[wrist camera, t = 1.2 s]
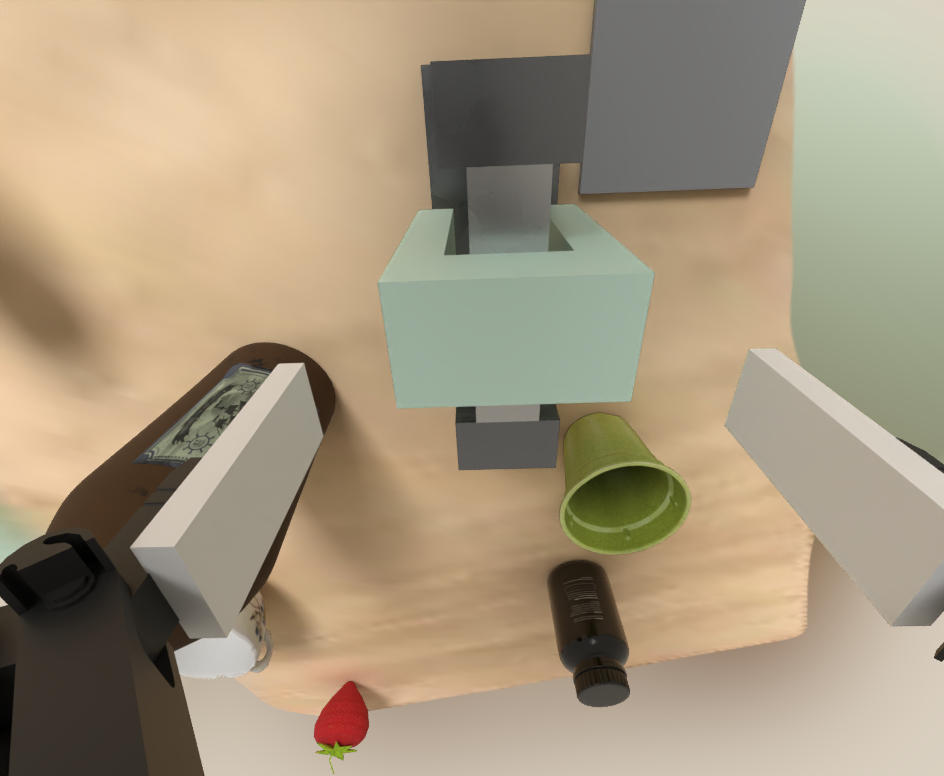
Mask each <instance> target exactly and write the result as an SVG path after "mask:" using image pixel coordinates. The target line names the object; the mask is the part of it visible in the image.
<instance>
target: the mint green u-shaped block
mask: <svg viewBox="0 0 944 776" xmlns="http://www.w3.org/2000/svg"><path fill="white" fill-rule="evenodd" d="M654 275H655V272H654V271H652V270H651V269H650V268H649V267H648V266H647V265H645V264H644V263H643V262H642V261H641V260H640V259H638V258H637V257H636V256H635V255H634V254H633V253H631V252H630V251H629V250H628V249H627V248H626V247H625V246H623V245H622V244H621V243H620V242H619V241H618V240H616V239H615V238H614V237H613V236H612V235H611V234H609V233H608V232H607V231H606V230H605V229H604V228H602V227H601V226H600V225H599V224H598V223H597V222H595V221H594V220H593V219H592V218H591V217H590V216H589V215H587V214H586V213H585V212H584V211H583V210H582V209H580V208H579V207H578V206H577V205H576V204H560V205H551V209H550V227H549V246H548V252H524V253H497V254H469V255H456V246H455V228H454V210H453V209H430V210H419V211H418V212H417V214H416V216H415V218H414V220H413V221H412V223H411V225H410V227H409V228H408V230H407V232H406V234H405V235H404V237H403V239H402V241H401V242H400V244H399V246H398V248H397V249H396V251H395V253H394V255H393V256H392V258H391V260H390V262H389V264H388V265H387V267H386V269H385V271H384V272H383V274H382V276H381V278H380V279H379V281H378V288H379V294H380V301H381V307H382V314H383V320H384V327H385V333H386V340H387V346H388V353H389V359H390V366H391V372H392V379H393V385H394V392H395V398H396V405H397V408H430V407H464V406H497V405H531V404H565V403H599V402H631V399H632V393H633V388H634V383H635V377H636V372H637V366H638V361H639V356H640V350H641V345H642V340H643V334H644V329H645V323H646V318H647V313H648V307H649V302H650V296H651V291H652V286H653V280H654Z"/></svg>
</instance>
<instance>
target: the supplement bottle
mask: <svg viewBox="0 0 944 776" xmlns="http://www.w3.org/2000/svg"><path fill="white" fill-rule="evenodd" d="M547 585H548V592H549V599H550V605H551V611H552V617H553V623H554V629H555V635H556V640H557V646H558V652H559V657H560V660H561V662H562V664H563V665H564V666H565V667H566V669H568V670H569V671H570V672H572V673H573V680H574V684H575V688H576V693H577V698H578V699H579V701H580V702H581V703H583V704H584V705H587V706H592V707H608V706H613V705H616V704H618V703H621V702H623V701H624V700H626V699H627V698H628V697H629V695H630V689H629V685H628V681H627V674H626V671H625V669H624V667H623V666H624V665H625V663H626V661H627V659H628V656H629V647H628V643H627V639H626V636H625V633H624V629H623V626H622V623H621V619H620V616H619V613H618V609H617V606H616V603H615V599H614V596H613V593H612V589H611V586H610V583H609V580H608V576H607V574H606V572H605V571H604V569H603V568H602V567H600V566H599V565H597V564H595V563H593V562H589V561H571V562H567V563H564V564H562V565H560V566H558V567H557V568H555V569H554V570H553V571H552V572H551V574H550V575H549V578H548V582H547Z"/></svg>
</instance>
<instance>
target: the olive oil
mask: <svg viewBox="0 0 944 776" xmlns="http://www.w3.org/2000/svg"><path fill="white" fill-rule="evenodd" d="M284 363H304V365H305V369H306V372H307V376H308V380H309V384H310V387H311V391H312V395H313V399H314V403H315V406H316V410H317V414H318V418H319V421H320V425H321V429H322V433H323V436H324V434H325V432H326V429H327V427H328V424H329V422H330V420H331V417H332V414H333V411H334V407H335V394H334V390H333V387H332V384H331V382H330V380H329V378H328V376H327V375H326V373H325V372H324V371H323V369H322V368H321V367H320V366H319V365H318V364H317V363H316V362H315V361H313V360H312V359H311V358H310V357H308V356H307V355H305V354H303V353H302V352H300V351H298V350H296V349H294V348H291V347H288V346H285V345H281V344H276V343H254V344H249V345H246V346H243V347H241V348H239V349H237V350H236V351H234V352H233V353H231V354H230V355H229V356H228V357H227V358H225V359H224V360H223V361H222V362H221V363H220V364H219V365H218V366H217V367H215V368H214V369H213V370H212V371H211V372H210V373H209V374H208V375H207V376H206V377H204V378H203V379H202V380H201V381H200V382H199V383H198V384H197V385H195V386H194V387H193V388H192V389H191V390H190V391H189V392H187V393H186V394H185V395H184V396H183V397H181V398H180V399H179V400H178V401H177V402H176V403H174V404H173V405H172V406H171V407H170V408H169V409H167V410H166V411H165V412H164V413H163V414H162V415H160V416H159V417H158V418H157V419H156V420H154V421H153V422H152V423H151V424H150V425H149V426H147V427H146V428H145V429H144V430H143V431H141V432H140V433H139V434H138V435H137V436H135V437H134V438H133V439H132V440H131V441H129V442H128V443H127V444H126V445H125V446H123V447H122V448H121V449H120V450H119V451H117V452H116V453H115V454H114V455H113V456H111V457H110V458H109V459H108V460H107V461H105V462H104V463H103V464H102V465H101V466H99V467H98V468H97V469H96V470H95V471H93V472H92V473H91V474H90V475H89V476H87V477H86V478H85V479H84V480H83V481H82V482H81V483H80V484H79V485H78V486H77V487H76V488H75V489H74V490H73V491H72V492H71V493H70V494H69V495H68V497H67V498H66V499H65V500H64V502H63V503H62V505H61V506H60V508H59V510H58V511H57V513H56V515H55V516H54V518H53V520H52V522H51V524H50V526H49V528H48V530H47V532H46V534H48V533H51V532H54V531H58V530H61V529H66V528H75V527H80V528H83V529H87V530H90V532H91V533H92V535H93V536H94V537H95V539H96V540H97V542H98V543H99V544H100V546H101V547H102V549H104V548H105V547H106V546H107V545H108V544H109V542H110V541H111V540H112V539H113V538H114V537H115V536H116V534H117V533H118V532H119V531H120V530H121V529H122V527H123V526H124V525H125V524H126V523H127V522H128V521H129V519H130V518H131V517H132V516H133V515H134V514H135V512H136V511H137V510H138V509H139V508H140V507H143V506H144V502H145V501H146V500H147V499H148V498H149V496H150V495H151V494H152V493H153V492H156V488H157V487H158V486H159V485H160V484H161V483H162V481H163V480H164V479H165V478H166V477H167V476H168V474H169V473H170V472H171V471H173V470H174V469H176V468H177V467H179V466H180V465H181V464H183V463H184V462H186V461H187V460H188V459H190V458H191V457H204V455H205V454H206V453H207V452H208V450H209V449H210V448H211V447H212V445H213V444H214V443H215V442H216V440H217V439H218V438H219V437H220V436H221V434H222V433H223V432H224V431H225V429H226V428H227V427H228V426H229V424H230V423H231V422H232V421H233V419H234V418H235V417H236V416H237V415H238V413H239V412H240V411H241V410H242V408H243V407H244V406H245V405H246V403H247V402H248V401H249V400H250V398H251V397H252V396H253V395H254V393H255V392H256V391H257V390H258V389H259V387H260V386H261V385H262V384H263V382H264V381H265V380H266V379H267V377H268V376H269V375H270V374H271V372H272V371H273V370H274V369H275V368H276V366H277V365H278V364H284ZM320 444H321V443H320ZM319 446H320V445H319ZM318 448H319V447H318ZM317 451H318V449H317ZM317 451H316V453H317ZM316 453H315V455H314V457H313V460H312V462H311V464H310V466H309V468H308V470H307V472H306V474H305V476H304V478H303V480H302V483H301V485H300V487H299V489H298V491H297V493H296V495H295V497H294V499H293V501H292V503H291V506H290V508H289V510H288V512H287V514H286V516H285V518H284V520H283V522H282V524H281V526H280V529H279V531H278V533H277V535H276V537H275V539H274V541H273V543H272V545H271V547H270V549H269V552H268V554H267V556H266V558H265V560H264V562H263V564H262V566H261V568H260V570H259V572H258V575H257V577H256V579H255V581H254V583H253V585H252V587H251V589H250V591H249V593H248V595H247V598H246V600H245V602H244V604H243V606H242V608H241V610H240V612H241V611H242V610H243V609H244V608H245V607H246V606H247V605H248V604H249V603H250V601H251V600H252V599H253V598H254V597H255V595H256V594H257V593H258V592H259V590H260V589H261V588H262V586H263V585H264V583H265V582H266V580H267V579H268V577H269V575H270V573H271V571H272V569H273V567H274V564H275V562H276V559H277V557H278V554H279V551H280V549H281V546H282V543H283V540H284V538H285V535H286V532H287V530H288V527H289V524H290V522H291V519H292V516H293V513H294V511H295V508H296V505H297V503H298V500H299V498H300V495H301V492H302V490H303V487H304V484H305V482H306V479H307V477H308V474H309V471H310V469H311V466H312V464H313V461H314V458H315V456H316ZM240 612H239V613H240ZM200 639H202V638H195V639H190V638H189V637H188V635H187V634H186V632H185V631H184V629H183V628H182V626H181V624H180V623H179V622H178V624H177V626H176V627H175V629H174V631H173V632H172V634H171V636H170V638H169V639H168V642H169V643H170V645H171V646H172V648H173V649H174V651H176V650H178V649H181V648H183V647H185V646H187V645H189V644H191V643H193V642H195V641H198V640H200Z"/></svg>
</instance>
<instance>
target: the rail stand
mask: <svg viewBox="0 0 944 776" xmlns="http://www.w3.org/2000/svg"><path fill="white" fill-rule="evenodd" d="M590 62H591V54H589V55H567V56H545V57H523V58H501V59H479V60H457V61H435V62H430V64H431V65H421V73H422V85H423V98H424V111H425V123H426V136H427V148H428V161H429V174H430V186H431V199H432V209H453V210H454V228H455V246H456V255H469V254H497V253H524V252H548V246H549V227H550V209H551V205H557V199H558V183H559V167H560V164H563V163H582V156H583V144H584V133H585V121H586V109H587V98H588V86H589V74H590ZM559 426H560V419H559V415H558V412H557V408H556V405H555V404H531V405H497V406H464V407H456V437H457V452H458V466H459V470H484V469H522V468H556V461H557V449H558V437H559Z"/></svg>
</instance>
